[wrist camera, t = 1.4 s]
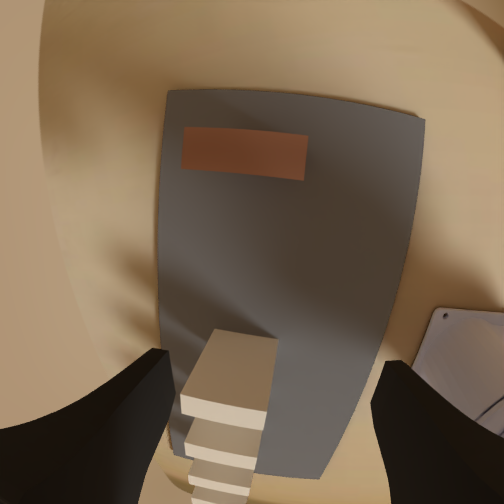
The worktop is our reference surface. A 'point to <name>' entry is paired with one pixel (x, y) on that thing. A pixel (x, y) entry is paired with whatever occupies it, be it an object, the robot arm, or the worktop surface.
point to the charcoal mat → (288, 258)
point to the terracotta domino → (245, 152)
